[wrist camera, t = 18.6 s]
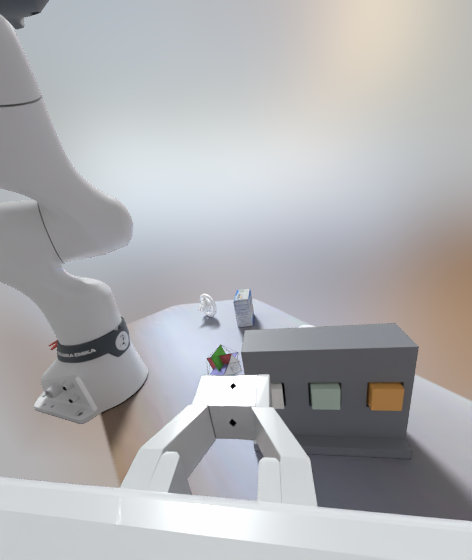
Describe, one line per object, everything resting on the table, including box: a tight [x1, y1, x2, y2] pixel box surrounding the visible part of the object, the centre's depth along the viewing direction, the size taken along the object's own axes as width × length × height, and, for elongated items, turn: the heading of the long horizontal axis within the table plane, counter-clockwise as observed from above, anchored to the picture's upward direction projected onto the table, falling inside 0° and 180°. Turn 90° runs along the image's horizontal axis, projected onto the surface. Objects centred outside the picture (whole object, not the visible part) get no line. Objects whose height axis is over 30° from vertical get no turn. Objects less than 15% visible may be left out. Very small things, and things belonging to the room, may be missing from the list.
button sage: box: [308, 383, 340, 410], centre depth 30 cm, size 3×3×3 cm
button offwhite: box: [271, 383, 284, 409], centre depth 31 cm, size 3×3×3 cm
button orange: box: [366, 382, 404, 411], centre depth 28 cm, size 3×3×3 cm
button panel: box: [241, 323, 419, 459], centre depth 31 cm, size 20×7×16 cm, turn 82°
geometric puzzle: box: [207, 344, 242, 375], centre depth 46 cm, size 7×7×8 cm
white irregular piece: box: [198, 294, 217, 317], centre depth 72 cm, size 8×6×8 cm
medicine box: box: [234, 289, 254, 327], centre depth 67 cm, size 8×4×9 cm, turn 173°
